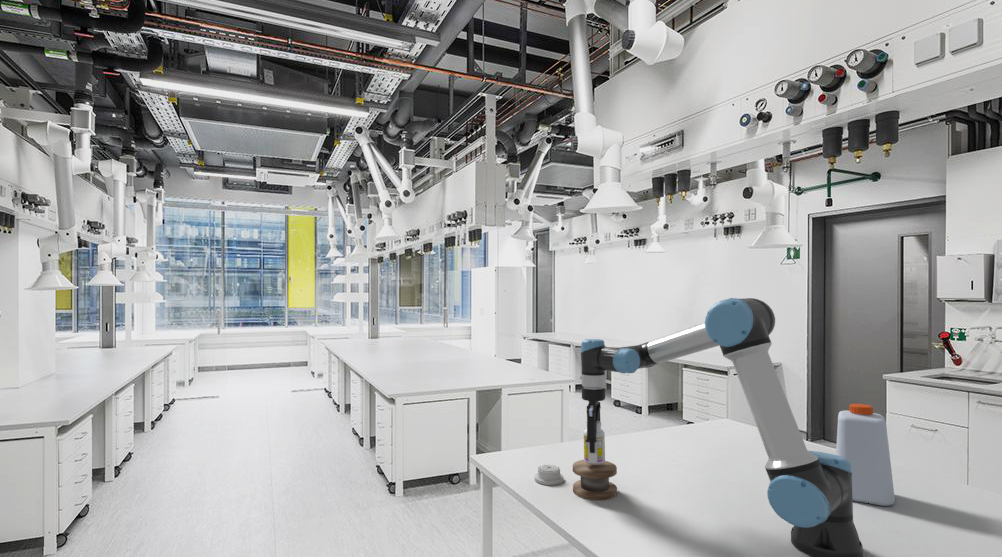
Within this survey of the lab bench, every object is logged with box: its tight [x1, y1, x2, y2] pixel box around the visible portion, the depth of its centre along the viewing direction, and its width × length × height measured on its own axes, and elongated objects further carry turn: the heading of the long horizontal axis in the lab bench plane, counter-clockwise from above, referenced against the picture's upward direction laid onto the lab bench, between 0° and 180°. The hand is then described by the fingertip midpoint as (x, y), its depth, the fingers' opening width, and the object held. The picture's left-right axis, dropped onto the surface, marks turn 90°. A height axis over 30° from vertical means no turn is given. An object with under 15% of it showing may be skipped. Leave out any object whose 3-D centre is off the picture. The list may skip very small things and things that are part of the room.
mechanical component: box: [534, 464, 565, 486], centre depth 175 cm, size 10×4×10 cm
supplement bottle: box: [583, 420, 606, 465], centre depth 165 cm, size 7×7×13 cm
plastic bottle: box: [835, 403, 896, 507], centre depth 160 cm, size 15×15×28 cm
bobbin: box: [572, 459, 618, 501], centre depth 165 cm, size 14×14×8 cm
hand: (594, 458), depth 165 cm, fingers closed on supplement bottle, 7 cm apart
